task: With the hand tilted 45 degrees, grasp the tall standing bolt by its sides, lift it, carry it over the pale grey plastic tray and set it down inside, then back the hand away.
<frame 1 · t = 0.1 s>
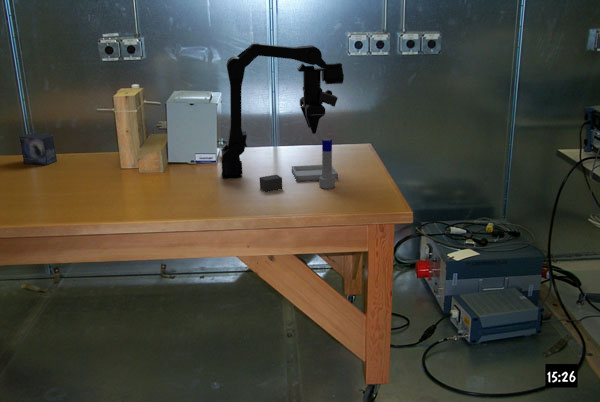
hand: (312, 130, 213), 15 cm above the table, tool pointing down, fingers open, 9 cm apart
bolt: (326, 187, 202), on the table
tray: (314, 175, 213), on the table
small box: (40, 163, 233), on the table
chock: (271, 189, 200), on the table
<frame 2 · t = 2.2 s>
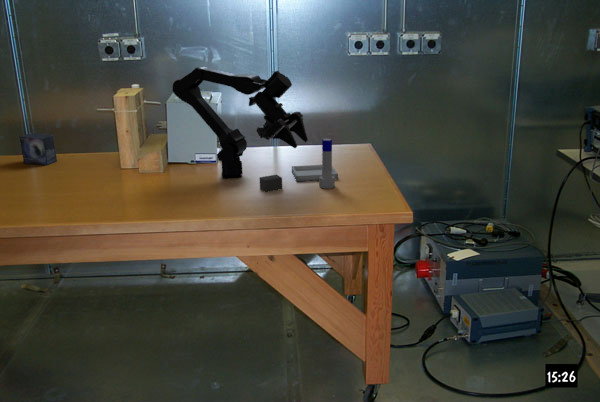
hand: (301, 144, 200), 13 cm above the table, tool tilted 45°, fingers open, 9 cm apart
nothing on the table moved.
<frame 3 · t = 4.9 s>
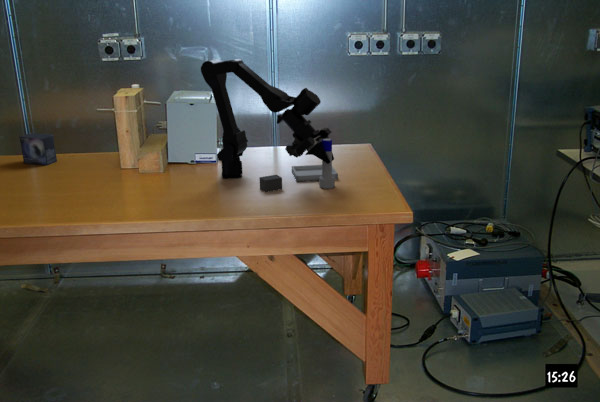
hand: (331, 161, 198), 9 cm above the table, tool tilted 45°, fingers closed on bolt, 3 cm apart
bolt: (327, 187, 202), on the table, touching gripper
everything else where it was.
when the fingers open (10 cm above the table, at t = 7.3 s): bolt stays where it is, resting on tray.
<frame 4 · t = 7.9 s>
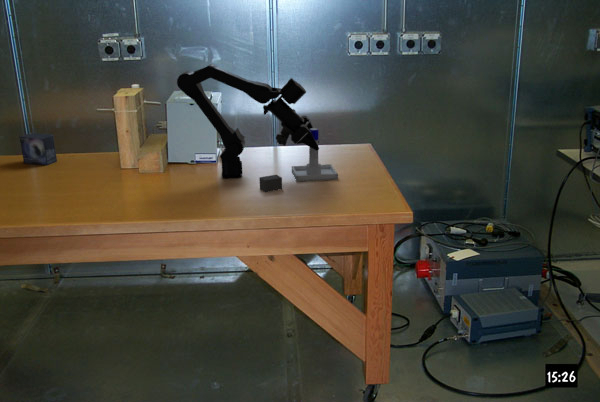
hand: (318, 146, 210), 10 cm above the table, tool tilted 45°, fingers open, 9 cm apart
bolt: (313, 174, 213), resting on tray
everything else where it was.
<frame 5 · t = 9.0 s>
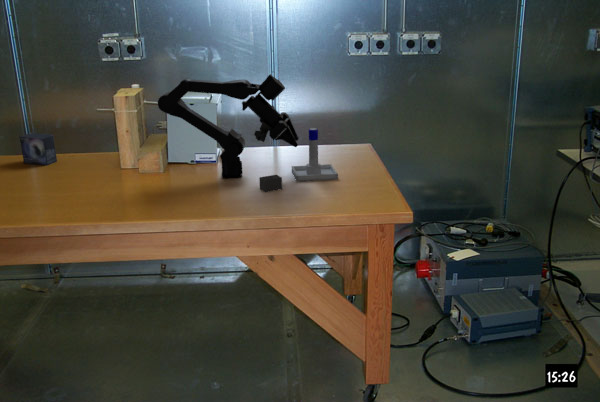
hand: (297, 142, 210), 11 cm above the table, tool tilted 45°, fingers open, 9 cm apart
nothing on the table moved.
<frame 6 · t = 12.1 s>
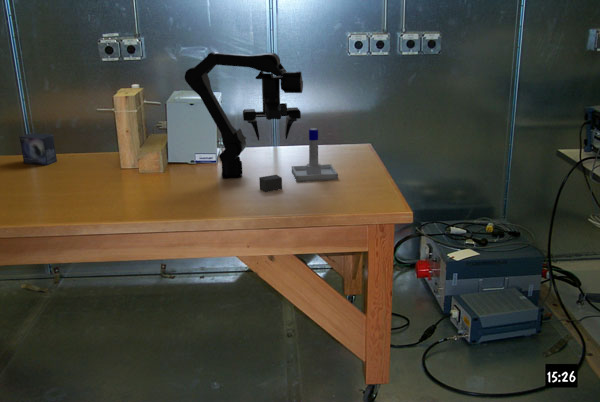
hand: (272, 139, 208), 13 cm above the table, tool pointing down, fingers open, 9 cm apart
nothing on the table moved.
at the end: bolt inside the target area on the tray (0.2 cm from its centre), point 0.4 cm above the tray's base; the gripper is holding nothing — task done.
